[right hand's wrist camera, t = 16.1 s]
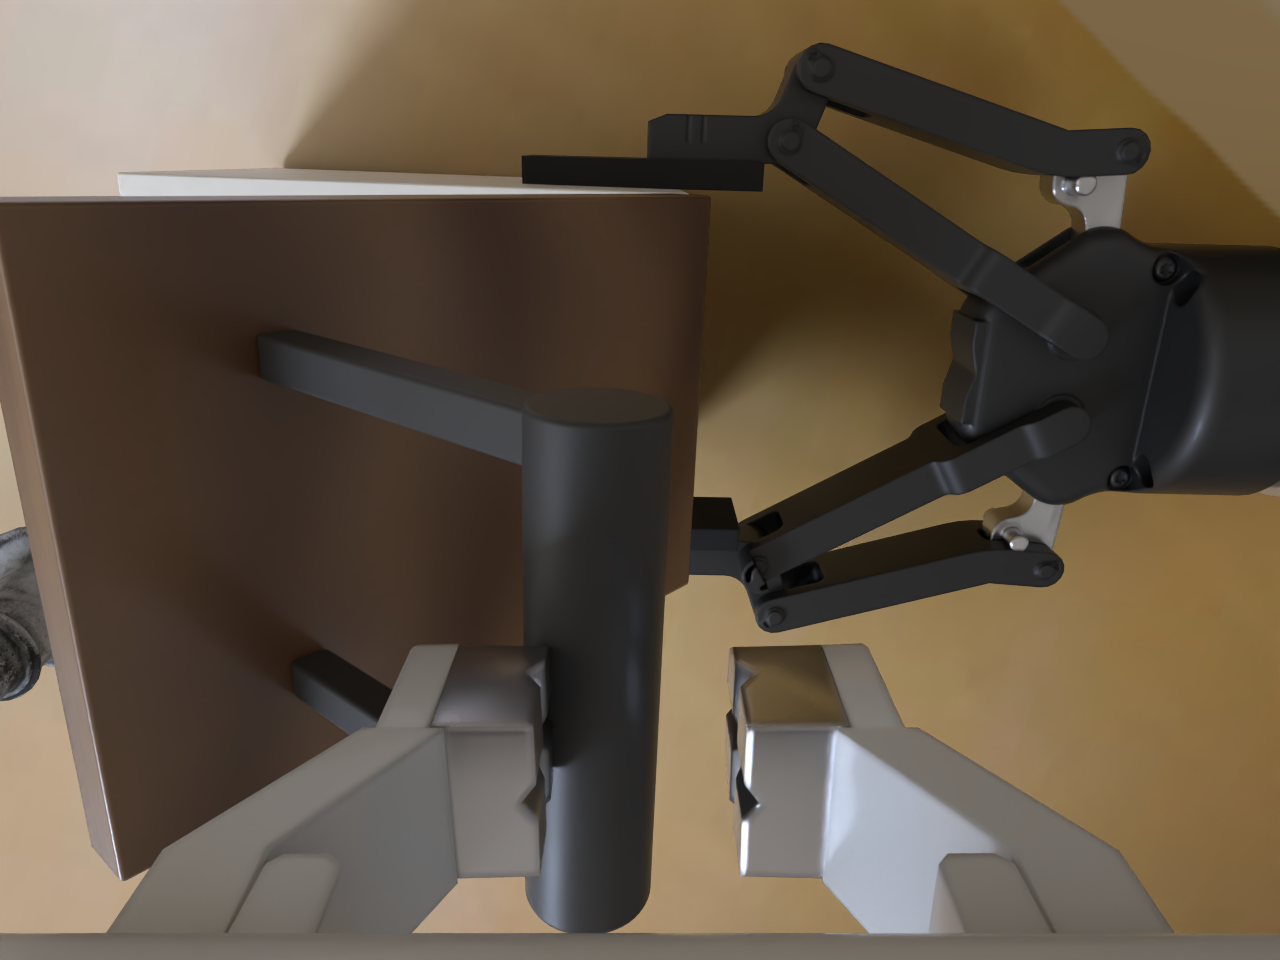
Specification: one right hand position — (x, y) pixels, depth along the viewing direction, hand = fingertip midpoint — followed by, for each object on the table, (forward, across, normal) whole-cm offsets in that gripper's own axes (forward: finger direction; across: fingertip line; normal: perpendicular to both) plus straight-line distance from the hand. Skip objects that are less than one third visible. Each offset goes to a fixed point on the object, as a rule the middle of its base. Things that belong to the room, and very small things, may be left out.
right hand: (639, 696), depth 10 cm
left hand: (+18, +3, 0) cm, 19 cm away
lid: (+8, +4, 0) cm, 9 cm away
